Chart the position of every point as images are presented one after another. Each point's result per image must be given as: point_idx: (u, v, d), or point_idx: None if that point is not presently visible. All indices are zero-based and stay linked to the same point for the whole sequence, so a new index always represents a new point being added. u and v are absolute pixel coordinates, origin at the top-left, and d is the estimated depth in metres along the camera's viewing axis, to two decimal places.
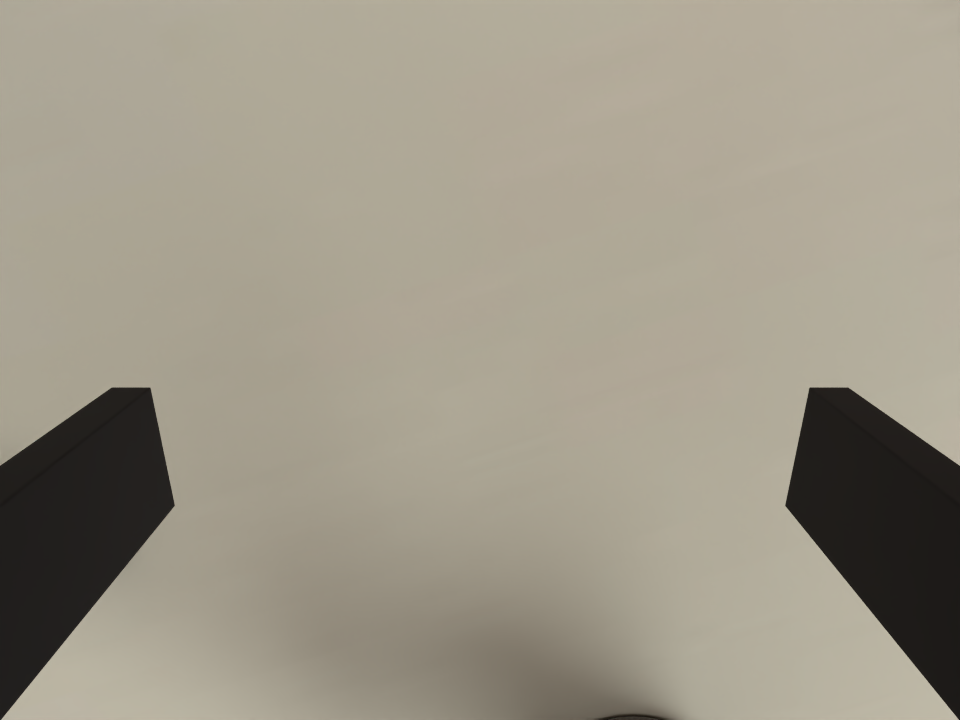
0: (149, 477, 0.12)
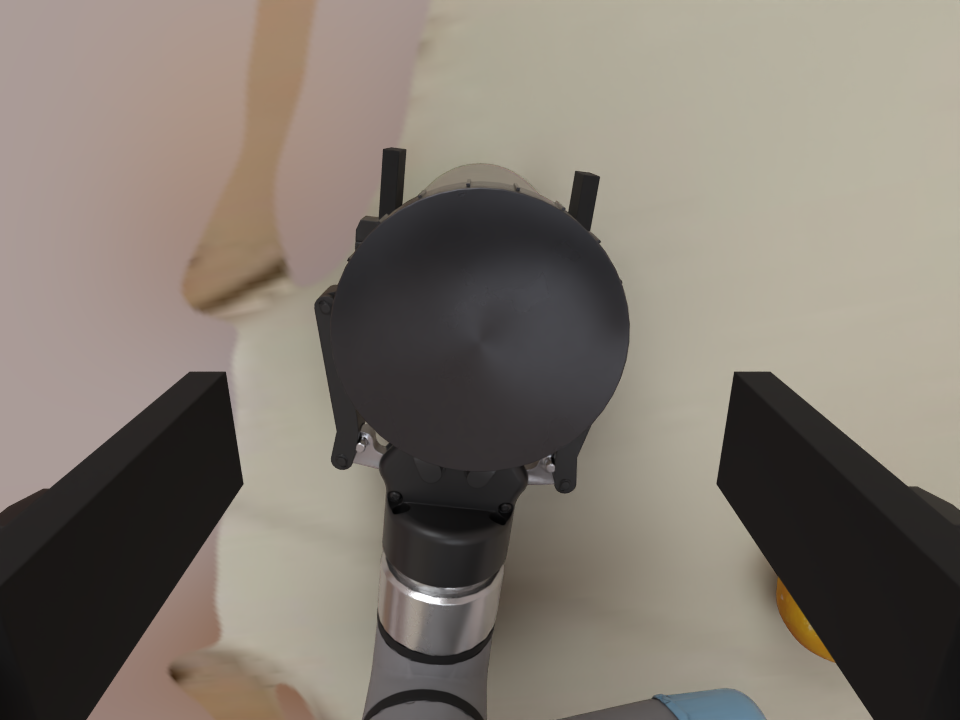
0: (225, 455, 0.13)
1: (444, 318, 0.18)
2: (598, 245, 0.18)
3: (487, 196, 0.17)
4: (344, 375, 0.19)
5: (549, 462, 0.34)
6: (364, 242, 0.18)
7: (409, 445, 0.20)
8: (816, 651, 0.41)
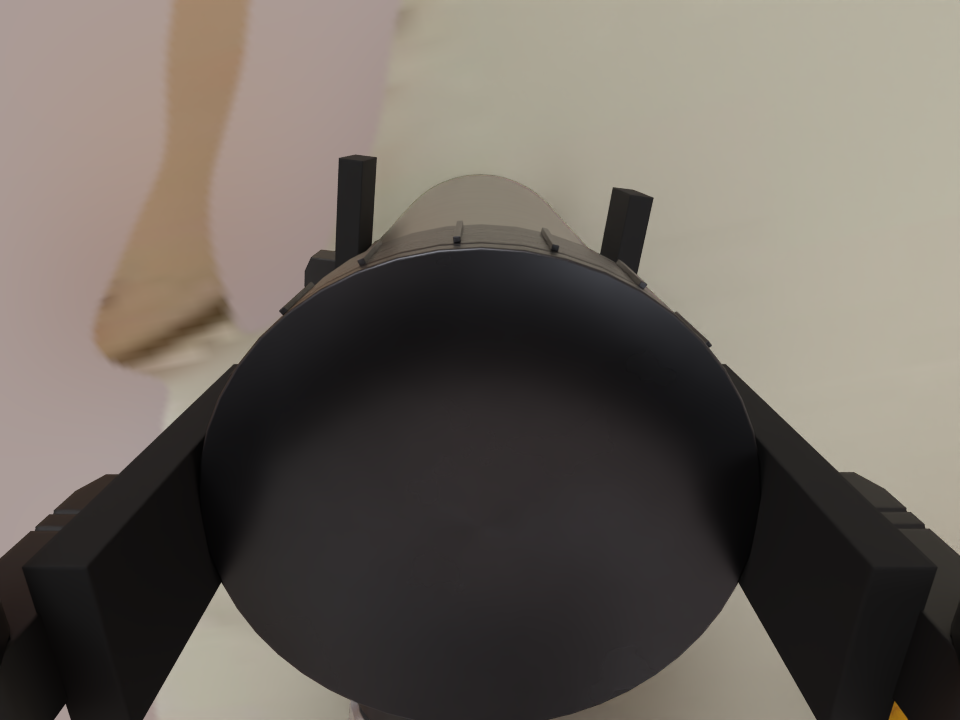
0: None
1: (413, 486, 0.10)
2: (713, 358, 0.09)
3: (495, 265, 0.09)
4: (231, 580, 0.10)
5: None
6: (252, 352, 0.09)
7: (355, 688, 0.11)
8: None
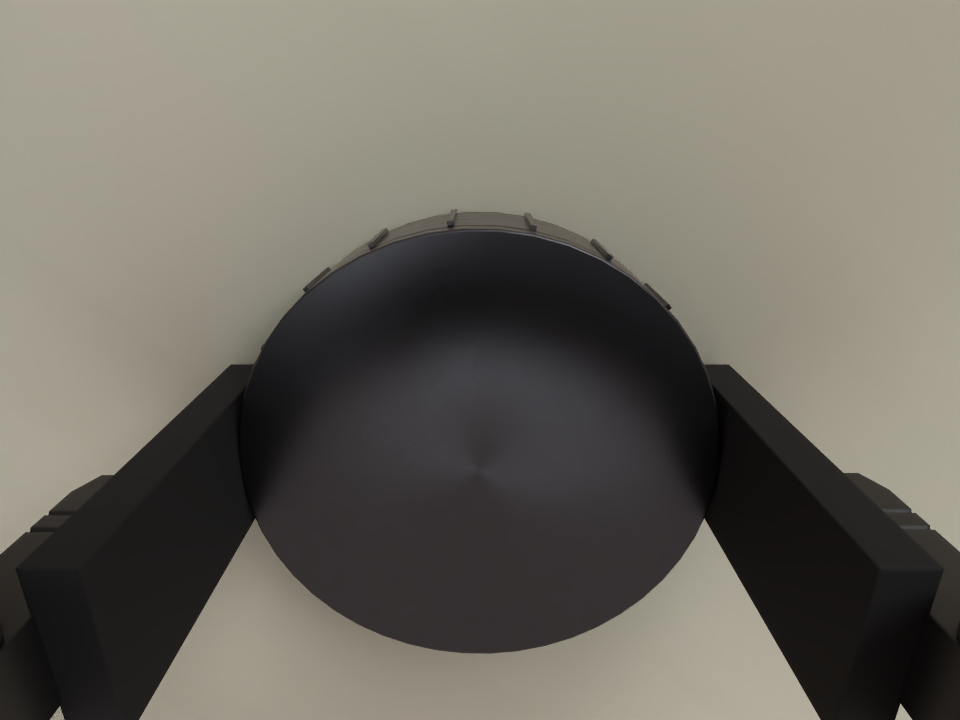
0: None
1: (416, 491, 0.12)
2: (446, 234, 0.10)
3: (282, 341, 0.11)
4: (411, 637, 0.13)
5: None
6: (257, 517, 0.12)
7: (557, 630, 0.13)
8: None
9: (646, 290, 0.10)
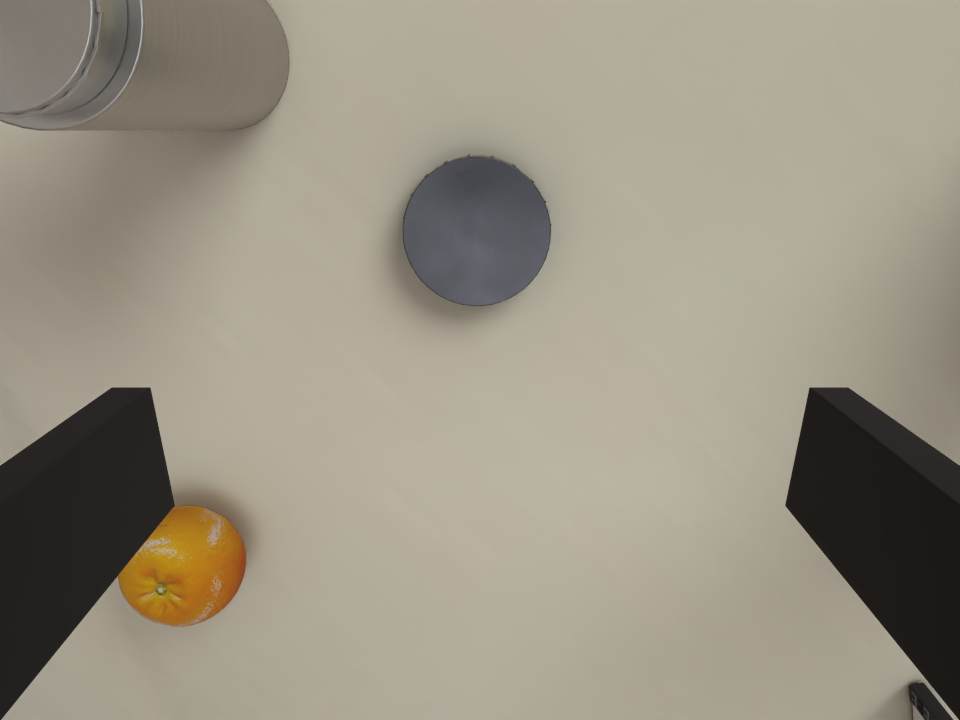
0: (150, 477, 0.12)
1: (457, 242, 0.38)
2: (467, 158, 0.36)
3: (419, 191, 0.37)
4: (454, 299, 0.39)
5: None
6: (406, 251, 0.38)
7: (503, 296, 0.39)
8: (118, 576, 0.43)
9: (524, 175, 0.37)
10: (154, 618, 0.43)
